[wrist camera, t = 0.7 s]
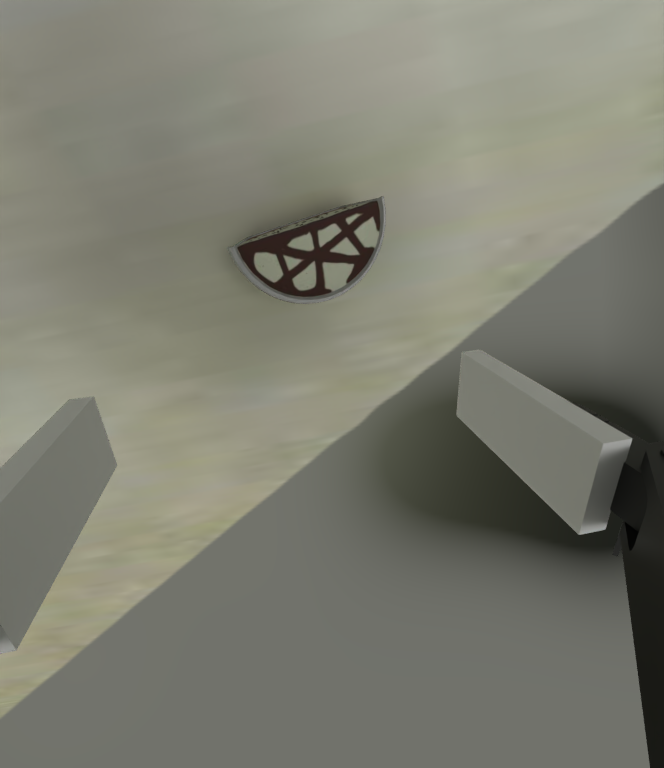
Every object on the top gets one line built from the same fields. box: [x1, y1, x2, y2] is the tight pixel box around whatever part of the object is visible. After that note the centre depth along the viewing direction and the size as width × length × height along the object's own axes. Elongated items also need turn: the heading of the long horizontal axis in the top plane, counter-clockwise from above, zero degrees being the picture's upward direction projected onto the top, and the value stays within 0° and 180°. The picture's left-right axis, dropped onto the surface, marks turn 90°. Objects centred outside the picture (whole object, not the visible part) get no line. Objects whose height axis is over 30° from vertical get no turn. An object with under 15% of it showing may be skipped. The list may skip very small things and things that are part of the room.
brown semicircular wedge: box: [227, 196, 386, 304], centre depth 33 cm, size 12×6×10 cm, turn 107°
